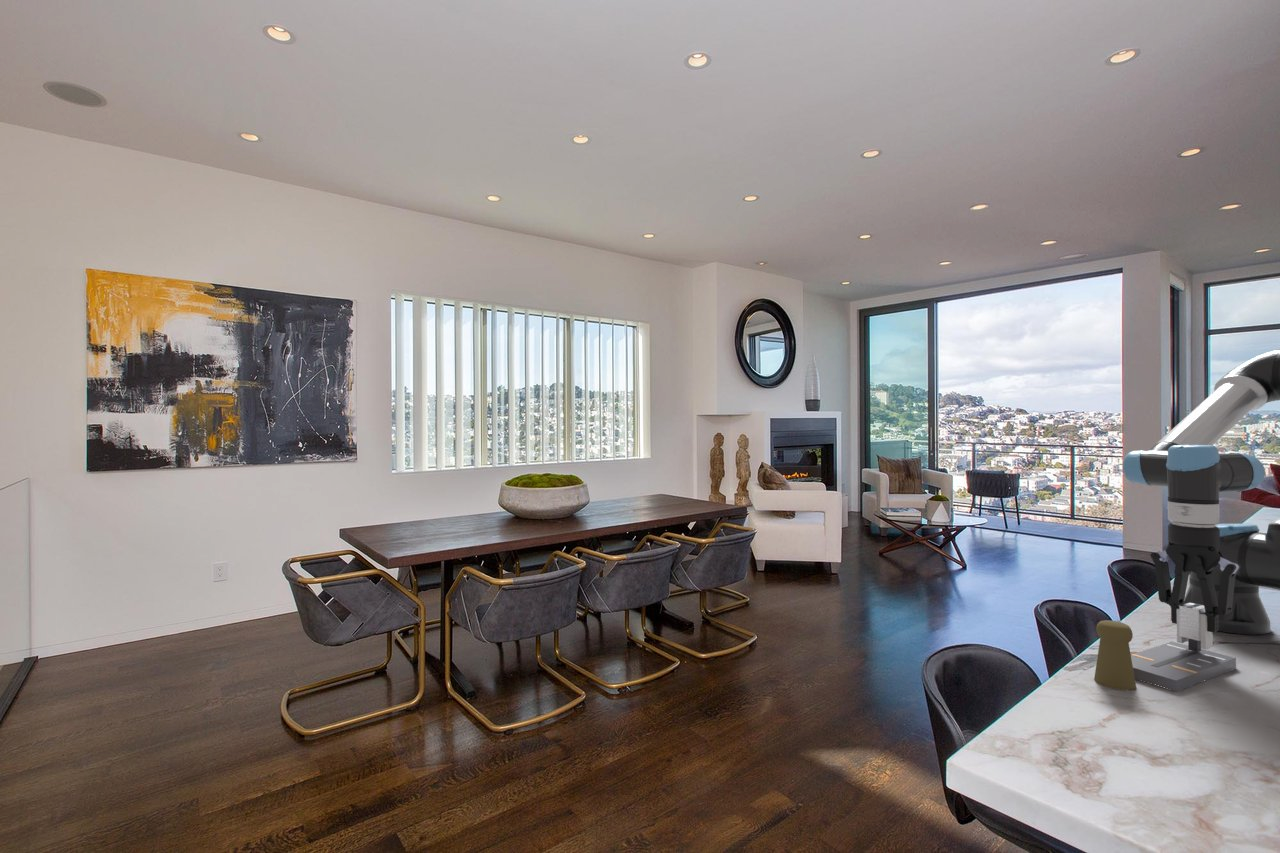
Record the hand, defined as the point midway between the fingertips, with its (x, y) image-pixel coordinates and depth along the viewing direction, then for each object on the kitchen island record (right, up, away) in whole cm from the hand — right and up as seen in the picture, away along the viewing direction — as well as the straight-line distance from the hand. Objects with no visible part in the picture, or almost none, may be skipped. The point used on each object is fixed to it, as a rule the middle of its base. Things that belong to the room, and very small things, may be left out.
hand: (1194, 644), depth 120 cm
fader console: (-7, -4, -3) cm, 9 cm away
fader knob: (0, -1, 0) cm, 1 cm away
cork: (-22, -4, -9) cm, 24 cm away
